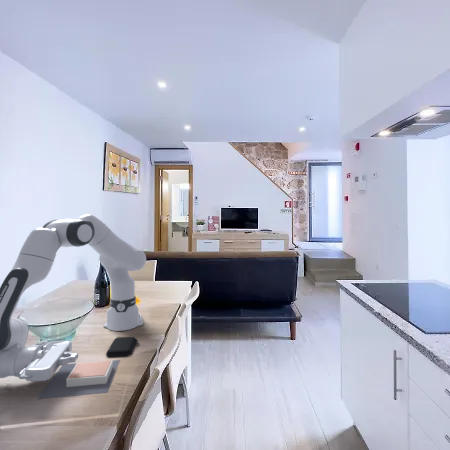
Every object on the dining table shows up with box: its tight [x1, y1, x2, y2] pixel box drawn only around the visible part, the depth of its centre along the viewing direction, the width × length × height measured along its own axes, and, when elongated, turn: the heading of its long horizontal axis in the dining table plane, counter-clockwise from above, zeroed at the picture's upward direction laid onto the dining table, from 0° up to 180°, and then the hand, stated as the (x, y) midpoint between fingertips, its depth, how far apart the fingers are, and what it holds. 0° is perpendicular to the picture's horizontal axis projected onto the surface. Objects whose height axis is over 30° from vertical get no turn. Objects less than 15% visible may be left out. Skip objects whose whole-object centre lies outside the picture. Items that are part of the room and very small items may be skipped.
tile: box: [66, 360, 114, 387], centre depth 99 cm, size 10×3×12 cm
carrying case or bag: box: [105, 336, 139, 358], centre depth 119 cm, size 11×3×15 cm
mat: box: [37, 359, 121, 400], centre depth 98 cm, size 20×20×1 cm
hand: (76, 357), depth 97 cm, fingers closed
